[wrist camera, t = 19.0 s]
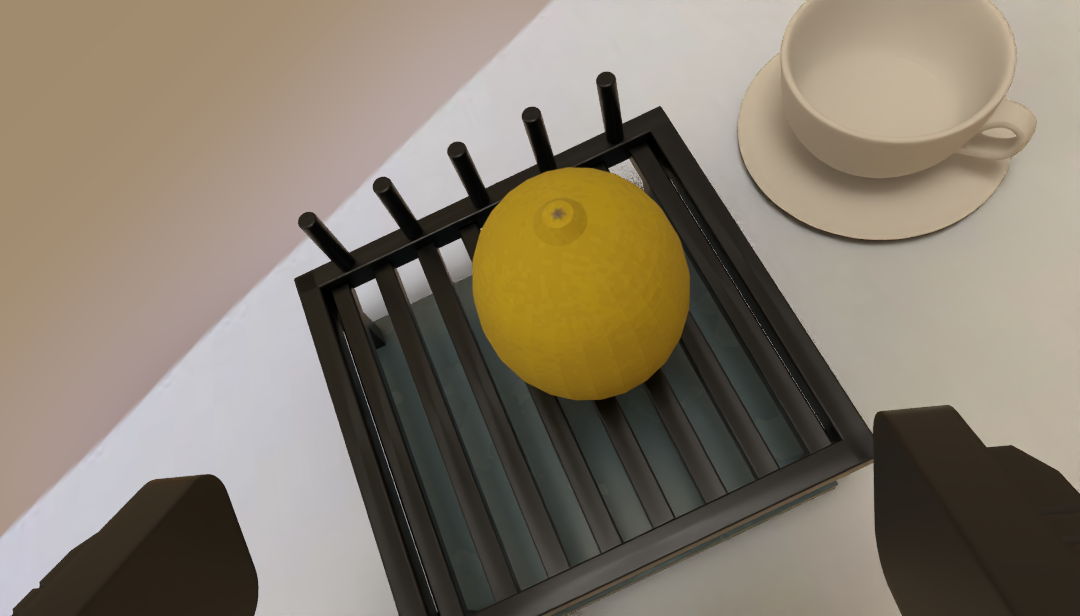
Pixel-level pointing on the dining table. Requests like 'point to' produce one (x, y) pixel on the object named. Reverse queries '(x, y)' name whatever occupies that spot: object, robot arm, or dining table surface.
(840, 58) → the teacup
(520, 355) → the lemon
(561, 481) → the dish rack
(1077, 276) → the dining table surface
